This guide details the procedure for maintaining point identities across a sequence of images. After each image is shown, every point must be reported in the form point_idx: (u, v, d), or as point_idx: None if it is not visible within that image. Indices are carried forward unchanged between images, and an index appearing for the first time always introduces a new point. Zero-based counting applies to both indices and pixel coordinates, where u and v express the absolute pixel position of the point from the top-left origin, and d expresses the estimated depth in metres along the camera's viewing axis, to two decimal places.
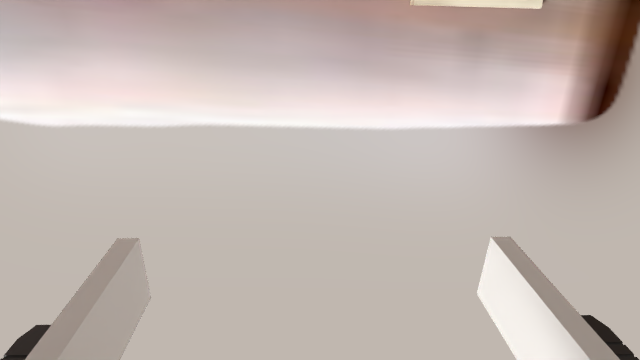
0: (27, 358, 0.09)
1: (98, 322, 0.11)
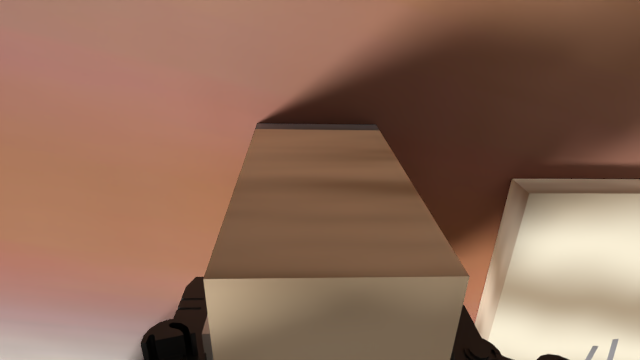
0: None
1: None
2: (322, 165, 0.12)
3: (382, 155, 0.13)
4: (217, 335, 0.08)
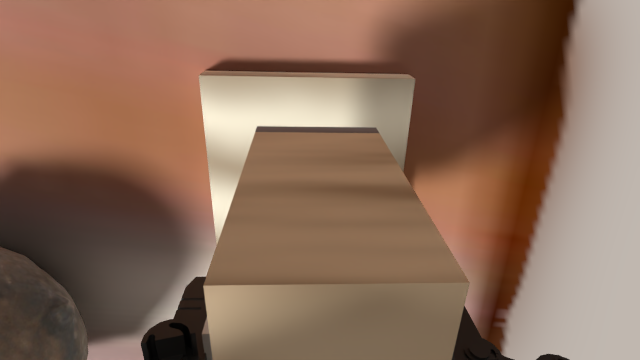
0: None
1: None
2: (322, 168, 0.12)
3: (382, 159, 0.13)
4: (217, 341, 0.08)
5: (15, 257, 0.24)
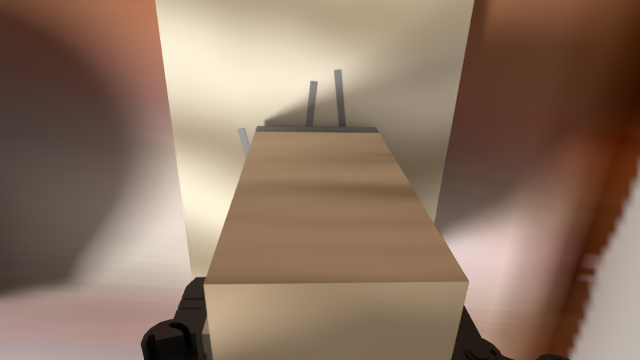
0: None
1: None
2: (322, 168, 0.12)
3: (382, 158, 0.13)
4: (217, 340, 0.08)
5: None
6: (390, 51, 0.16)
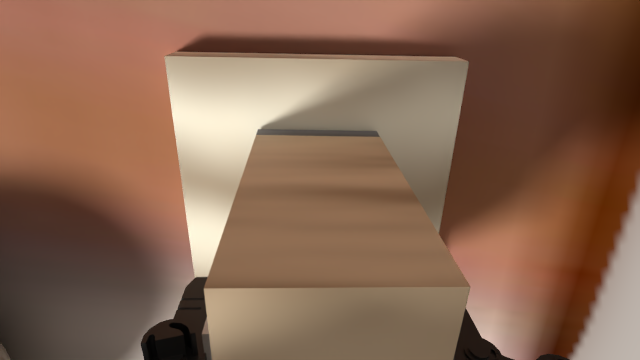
0: None
1: None
2: (323, 171, 0.12)
3: (383, 162, 0.13)
4: (217, 344, 0.08)
5: None
6: None
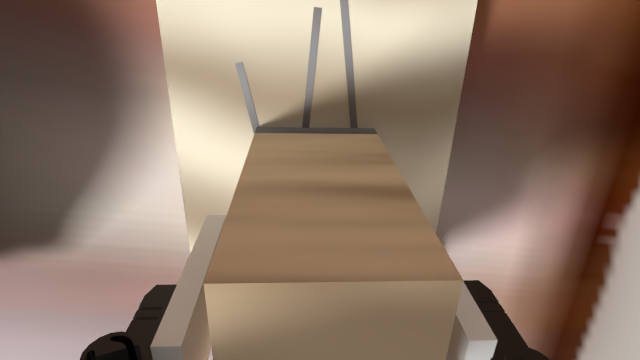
0: (168, 306, 0.11)
1: None
2: (320, 169, 0.12)
3: (380, 159, 0.13)
4: (217, 338, 0.08)
5: None
6: None
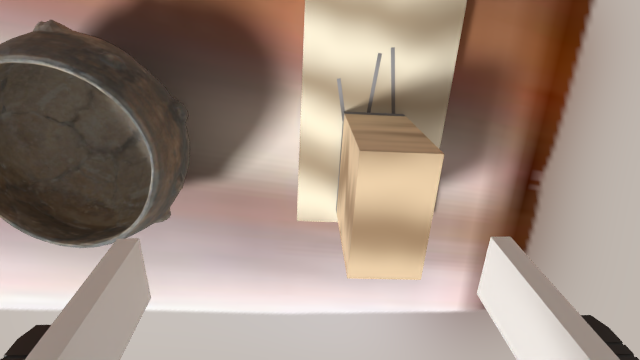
0: (27, 358, 0.09)
1: (98, 322, 0.11)
2: (384, 127, 0.28)
3: (409, 125, 0.29)
4: (360, 173, 0.23)
5: None
6: (420, 38, 0.30)
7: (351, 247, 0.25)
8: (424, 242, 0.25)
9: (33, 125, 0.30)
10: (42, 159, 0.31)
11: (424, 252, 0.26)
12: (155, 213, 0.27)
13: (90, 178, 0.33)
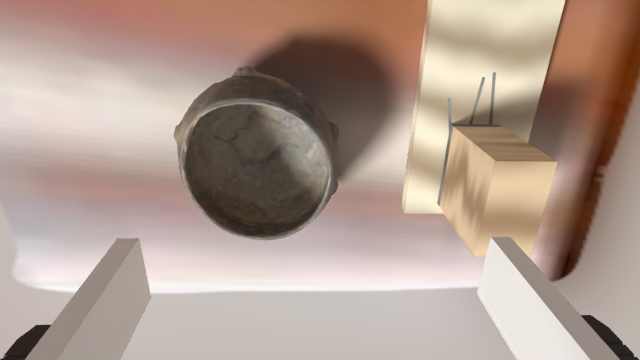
0: (27, 358, 0.09)
1: (98, 322, 0.11)
2: (495, 138, 0.35)
3: (512, 135, 0.36)
4: (494, 177, 0.31)
5: None
6: (517, 64, 0.37)
7: (480, 233, 0.33)
8: (536, 228, 0.33)
9: (207, 144, 0.38)
10: (212, 170, 0.39)
11: (535, 235, 0.33)
12: None
13: (244, 184, 0.40)
